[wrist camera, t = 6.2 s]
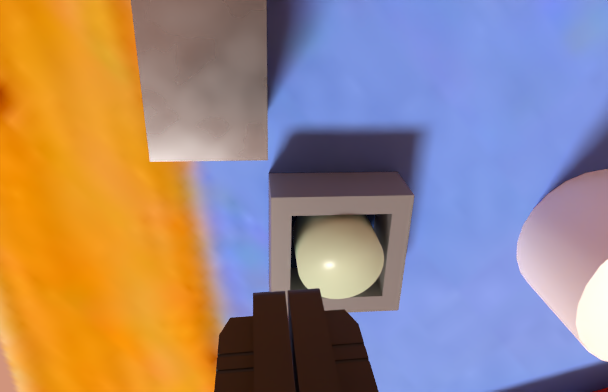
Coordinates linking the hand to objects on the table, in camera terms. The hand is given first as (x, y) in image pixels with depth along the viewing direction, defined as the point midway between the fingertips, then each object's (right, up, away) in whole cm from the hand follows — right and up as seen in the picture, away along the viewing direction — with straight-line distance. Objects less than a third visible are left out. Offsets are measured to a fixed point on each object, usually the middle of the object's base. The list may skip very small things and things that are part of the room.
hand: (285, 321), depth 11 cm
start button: (+2, +1, +16) cm, 16 cm away
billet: (-4, +10, +12) cm, 16 cm away
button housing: (+2, +1, +16) cm, 16 cm away
